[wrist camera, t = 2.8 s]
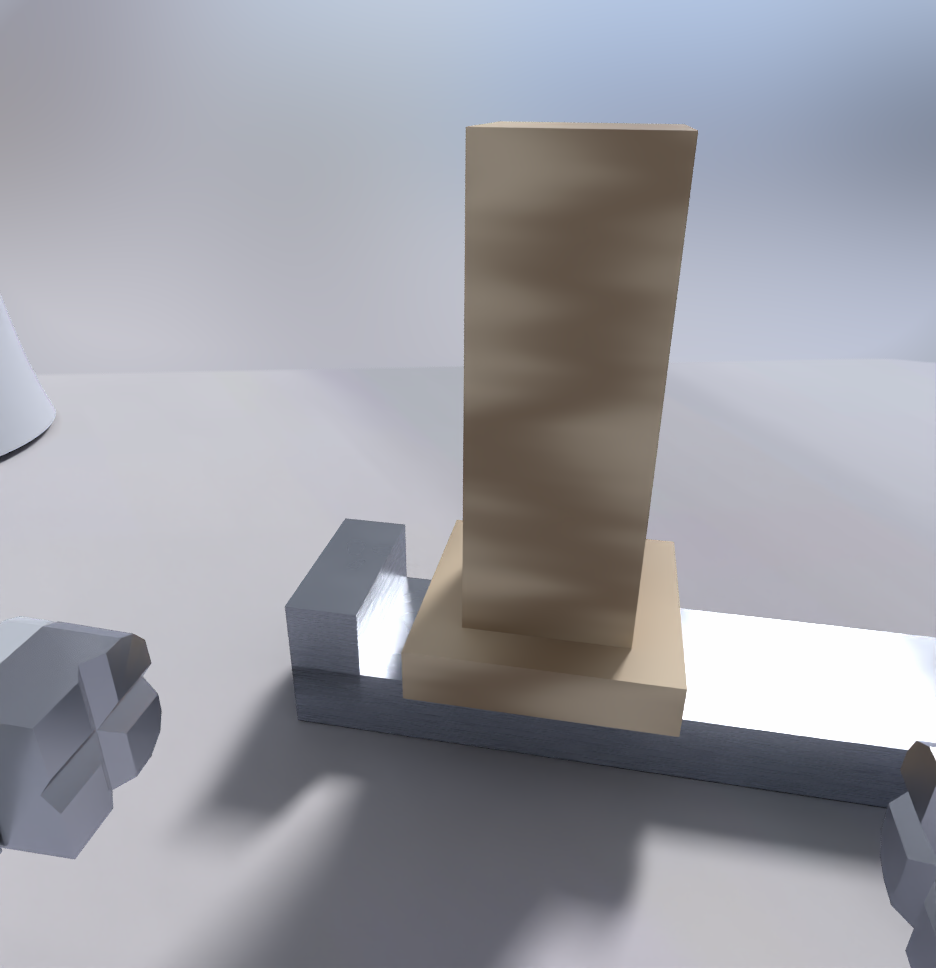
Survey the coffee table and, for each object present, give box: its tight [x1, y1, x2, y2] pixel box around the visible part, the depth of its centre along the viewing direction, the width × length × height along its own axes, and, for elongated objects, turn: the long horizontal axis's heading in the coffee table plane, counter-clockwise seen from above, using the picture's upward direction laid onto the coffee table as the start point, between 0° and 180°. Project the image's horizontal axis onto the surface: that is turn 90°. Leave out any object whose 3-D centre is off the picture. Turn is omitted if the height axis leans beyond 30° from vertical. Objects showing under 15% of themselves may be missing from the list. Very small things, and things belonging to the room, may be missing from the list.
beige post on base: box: [401, 122, 698, 737], centre depth 20 cm, size 7×7×14 cm
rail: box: [285, 519, 936, 807], centre depth 22 cm, size 24×5×4 cm, turn 79°
